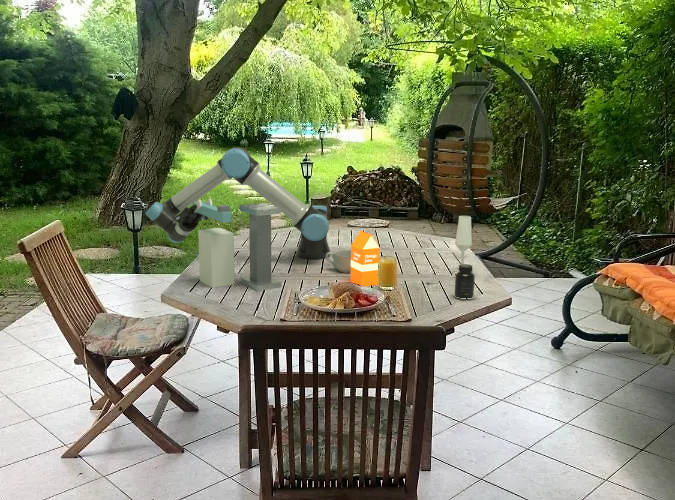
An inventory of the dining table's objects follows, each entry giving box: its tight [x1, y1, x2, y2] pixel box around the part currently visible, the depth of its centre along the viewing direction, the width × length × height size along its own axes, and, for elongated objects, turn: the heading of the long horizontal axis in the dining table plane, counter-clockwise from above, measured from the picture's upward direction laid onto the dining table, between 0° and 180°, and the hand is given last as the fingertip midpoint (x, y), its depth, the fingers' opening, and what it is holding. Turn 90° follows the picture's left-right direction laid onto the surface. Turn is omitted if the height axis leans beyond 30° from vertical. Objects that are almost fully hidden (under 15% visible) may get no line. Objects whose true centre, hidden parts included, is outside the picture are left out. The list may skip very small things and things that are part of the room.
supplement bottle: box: [453, 263, 476, 299], centre depth 232 cm, size 7×7×12 cm
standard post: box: [238, 203, 282, 292], centre depth 242 cm, size 14×10×30 cm
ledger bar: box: [192, 201, 233, 223], centre depth 243 cm, size 28×4×6 cm, turn 34°
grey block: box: [197, 227, 235, 289], centre depth 245 cm, size 12×9×20 cm
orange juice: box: [350, 230, 380, 287], centre depth 248 cm, size 8×9×20 cm
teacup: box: [325, 249, 351, 274], centre depth 268 cm, size 14×11×8 cm
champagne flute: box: [454, 215, 473, 273], centre depth 264 cm, size 7×7×24 cm
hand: (205, 202), depth 247 cm, fingers closed on ledger bar, 3 cm apart
